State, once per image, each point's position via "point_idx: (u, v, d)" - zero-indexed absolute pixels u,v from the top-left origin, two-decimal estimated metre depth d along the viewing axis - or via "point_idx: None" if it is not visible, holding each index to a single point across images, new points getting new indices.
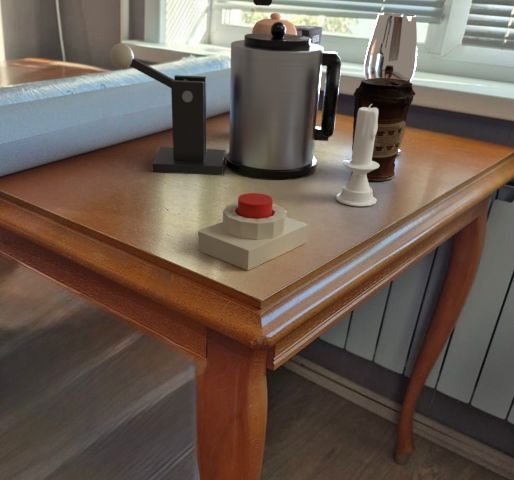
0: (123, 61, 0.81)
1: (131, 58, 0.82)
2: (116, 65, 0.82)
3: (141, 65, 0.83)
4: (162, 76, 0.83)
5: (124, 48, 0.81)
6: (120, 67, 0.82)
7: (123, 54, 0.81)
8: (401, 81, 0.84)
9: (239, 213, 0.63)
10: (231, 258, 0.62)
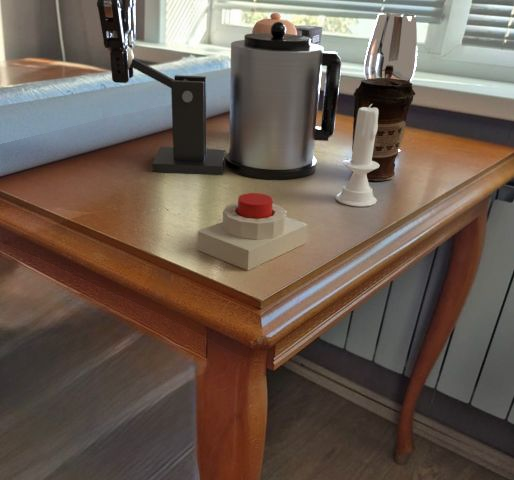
0: None
1: (131, 58, 0.82)
2: None
3: (141, 65, 0.83)
4: (162, 76, 0.83)
5: None
6: None
7: None
8: (401, 81, 0.84)
9: (239, 213, 0.63)
10: (231, 258, 0.62)
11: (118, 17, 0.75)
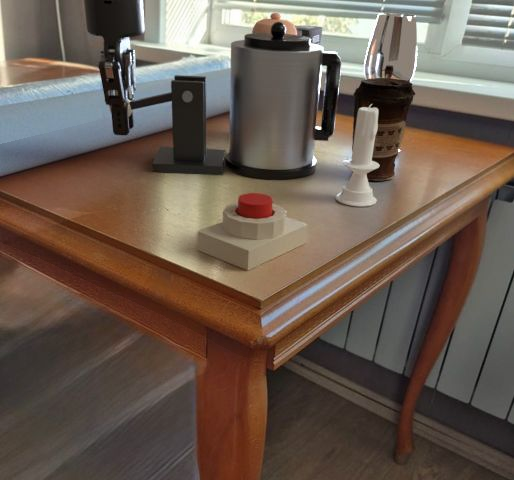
0: None
1: None
2: None
3: (138, 102, 0.85)
4: (159, 97, 0.85)
5: None
6: None
7: None
8: (401, 81, 0.84)
9: (239, 213, 0.63)
10: (231, 258, 0.62)
11: (118, 78, 0.78)
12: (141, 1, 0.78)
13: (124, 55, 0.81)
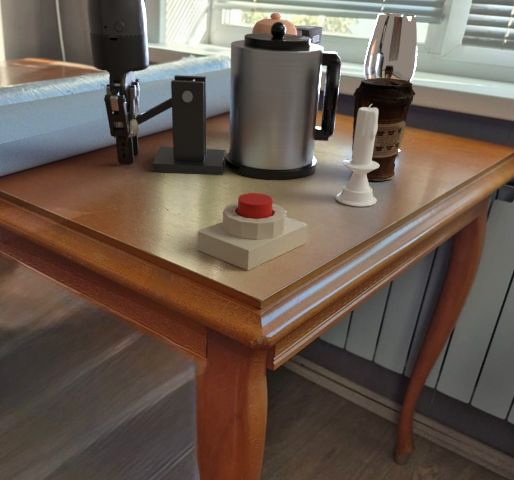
0: None
1: None
2: None
3: (143, 115, 0.86)
4: (162, 104, 0.85)
5: None
6: (134, 133, 0.87)
7: None
8: (401, 81, 0.84)
9: (239, 213, 0.63)
10: (231, 258, 0.62)
11: (124, 110, 0.80)
12: (145, 37, 0.81)
13: (129, 88, 0.83)
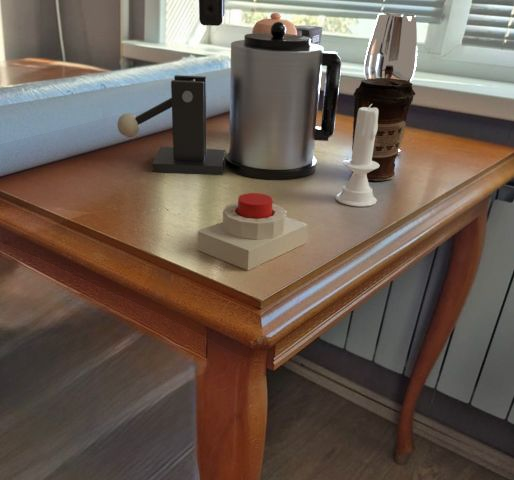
0: (131, 127, 0.86)
1: (133, 118, 0.86)
2: (131, 135, 0.87)
3: (143, 115, 0.86)
4: (162, 104, 0.85)
5: (123, 118, 0.86)
6: (134, 133, 0.87)
7: (126, 122, 0.86)
8: (401, 81, 0.84)
9: (239, 213, 0.63)
10: (231, 258, 0.62)
11: None
12: None
13: None
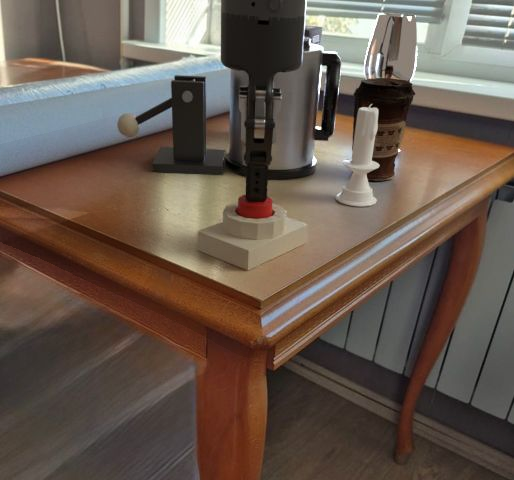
0: (131, 127, 0.86)
1: (133, 118, 0.86)
2: (131, 135, 0.87)
3: (143, 115, 0.86)
4: (162, 104, 0.85)
5: (123, 118, 0.86)
6: (134, 133, 0.87)
7: (126, 122, 0.86)
8: (401, 81, 0.84)
9: (239, 214, 0.63)
10: (231, 258, 0.62)
11: (271, 138, 0.55)
12: (304, 20, 0.54)
13: (273, 98, 0.56)
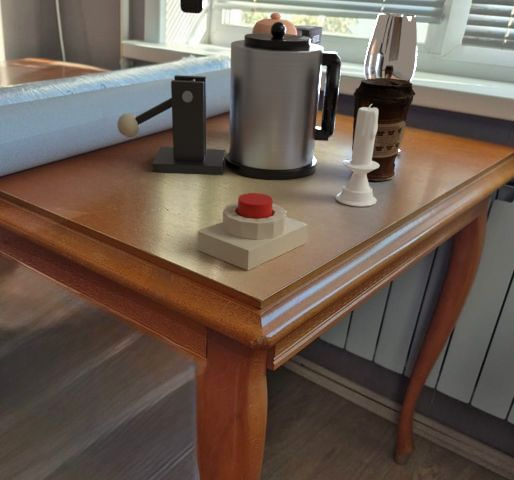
0: (131, 127, 0.86)
1: (133, 118, 0.86)
2: (131, 135, 0.87)
3: (143, 115, 0.86)
4: (162, 104, 0.85)
5: (123, 118, 0.86)
6: (134, 133, 0.87)
7: (126, 122, 0.86)
8: (401, 81, 0.84)
9: (239, 213, 0.63)
10: (231, 258, 0.62)
11: None
12: None
13: None
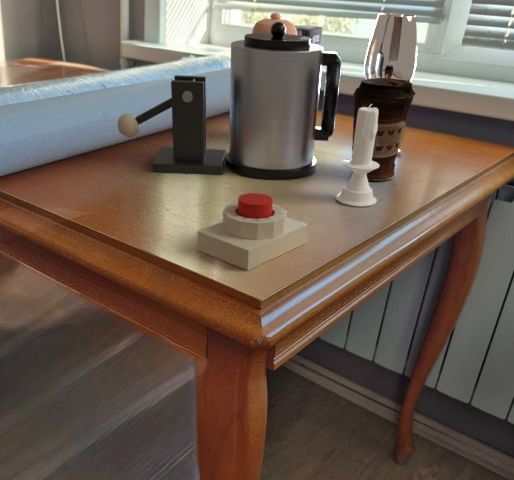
0: (131, 127, 0.86)
1: (133, 118, 0.86)
2: (131, 135, 0.87)
3: (143, 115, 0.86)
4: (162, 104, 0.85)
5: (123, 118, 0.86)
6: (134, 133, 0.87)
7: (126, 122, 0.86)
8: (401, 81, 0.84)
9: (239, 213, 0.63)
10: (231, 258, 0.62)
11: None
12: None
13: None
